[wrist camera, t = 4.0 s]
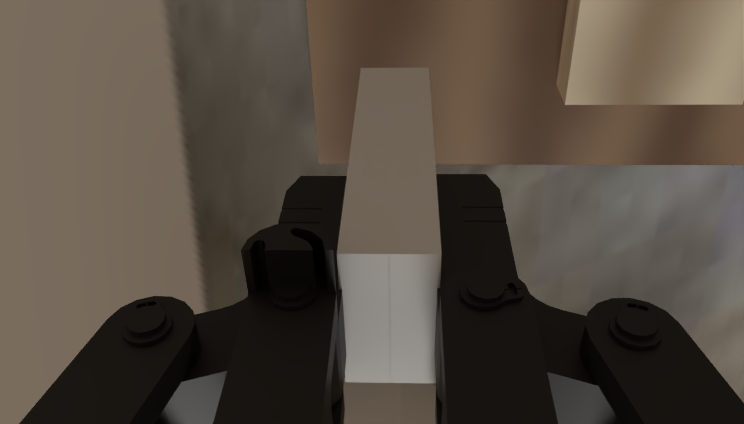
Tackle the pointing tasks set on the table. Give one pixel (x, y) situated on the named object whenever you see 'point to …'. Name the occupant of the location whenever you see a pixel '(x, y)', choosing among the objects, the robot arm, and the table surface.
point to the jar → (389, 403)
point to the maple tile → (652, 52)
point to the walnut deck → (497, 88)
